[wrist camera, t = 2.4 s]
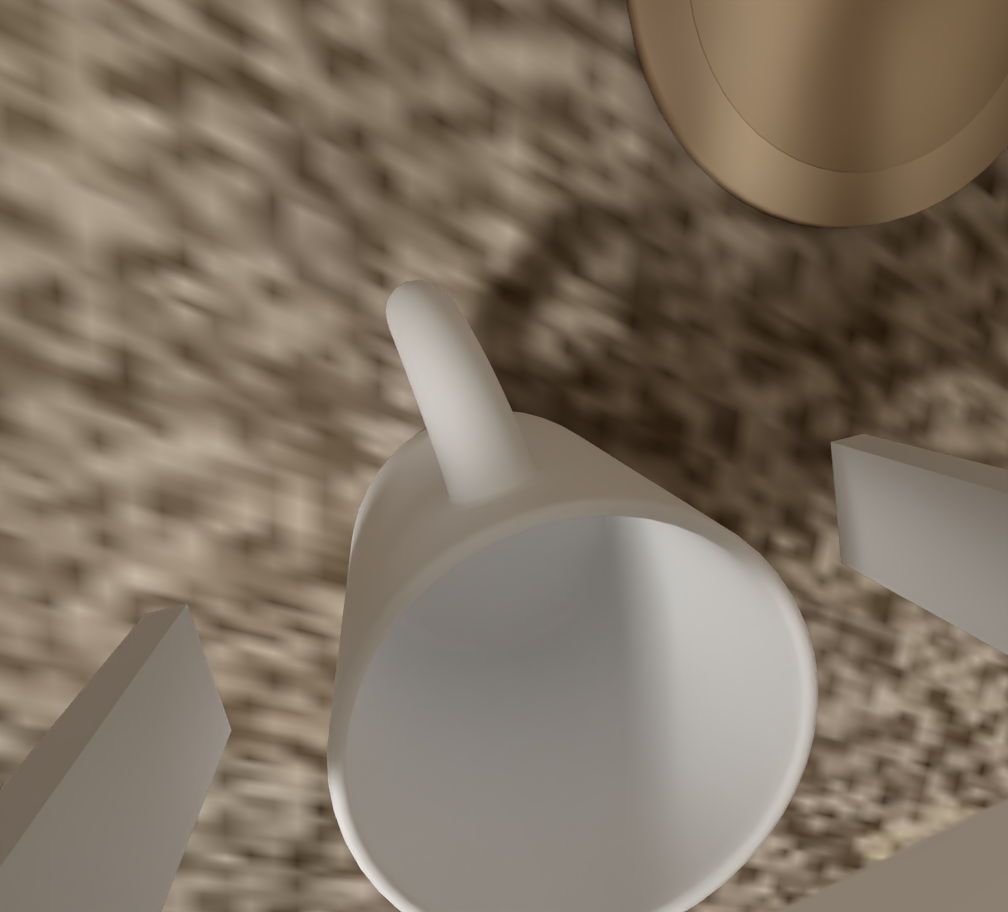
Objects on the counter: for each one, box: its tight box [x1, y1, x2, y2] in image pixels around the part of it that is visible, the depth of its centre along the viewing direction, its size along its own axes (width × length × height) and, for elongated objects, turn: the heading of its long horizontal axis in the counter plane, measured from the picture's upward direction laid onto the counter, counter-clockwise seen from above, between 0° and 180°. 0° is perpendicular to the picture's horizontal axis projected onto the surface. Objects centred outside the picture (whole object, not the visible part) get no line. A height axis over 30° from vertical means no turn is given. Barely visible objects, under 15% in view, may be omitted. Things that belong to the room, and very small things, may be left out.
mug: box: [327, 280, 818, 912], centre depth 15 cm, size 12×8×10 cm
